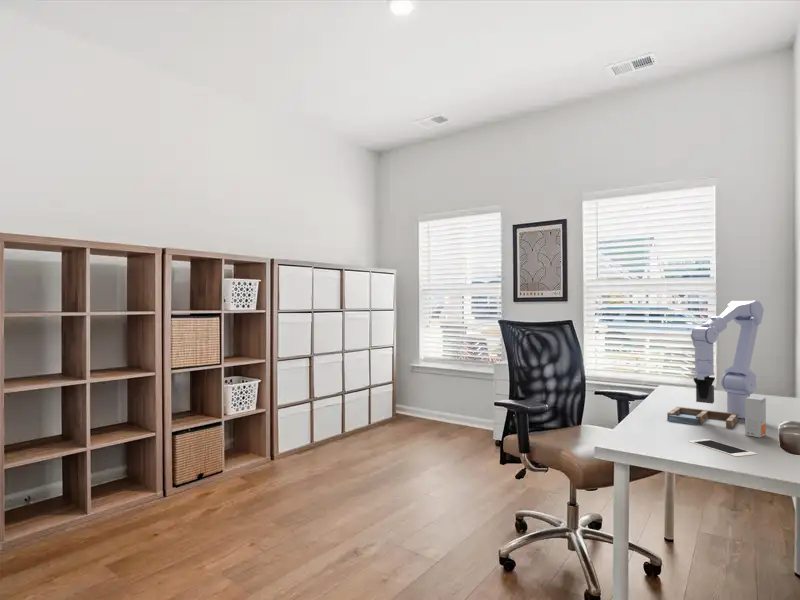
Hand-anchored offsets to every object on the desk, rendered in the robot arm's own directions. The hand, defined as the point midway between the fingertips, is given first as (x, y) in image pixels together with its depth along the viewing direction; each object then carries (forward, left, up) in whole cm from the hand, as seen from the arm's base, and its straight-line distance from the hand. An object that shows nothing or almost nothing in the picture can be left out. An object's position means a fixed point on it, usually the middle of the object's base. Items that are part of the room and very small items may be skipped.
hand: (704, 397), depth 177 cm
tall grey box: (0, 0, -2) cm, 2 cm away
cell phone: (+36, +10, -9) cm, 38 cm away
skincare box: (+12, +16, -9) cm, 22 cm away
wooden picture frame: (0, -1, -9) cm, 9 cm away
